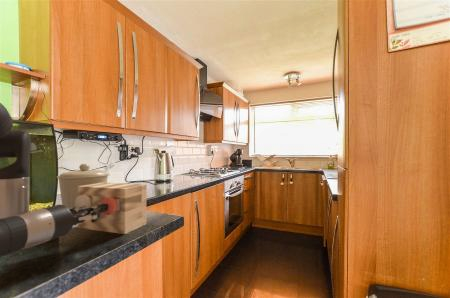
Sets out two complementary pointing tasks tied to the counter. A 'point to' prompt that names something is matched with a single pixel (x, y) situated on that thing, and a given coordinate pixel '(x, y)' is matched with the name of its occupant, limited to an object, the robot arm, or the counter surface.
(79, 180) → the canister
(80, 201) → the beige plug
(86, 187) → the block
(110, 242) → the counter surface
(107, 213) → the red plug
